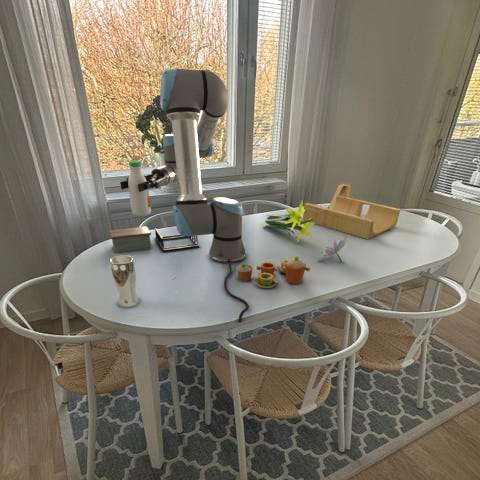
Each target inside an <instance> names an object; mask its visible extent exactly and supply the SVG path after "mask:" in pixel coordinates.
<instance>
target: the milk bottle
mask: <svg viewBox="0 0 480 480" xmlns="http://www.w3.org/2000/svg"><path fill="white" fill-rule="evenodd" d="M128 166H129V169H130V171H129V176H128V178H129V180H128V188H127V189H128V194H129V195H128V196H129V201H130V202H129V203H130V209H131V213H132V215H134V216H147V215H150V214H151V213H152V209H151V208H152V207H151V200H150V199H151V198H150V192H149V189H147V190H144V191H141V192H139V190H138V184H140V183H143V182H146V179H145V177H144V175H145V174H144V172H143V170H142V162H141V161H140V160H130V161H129V162H128Z"/></svg>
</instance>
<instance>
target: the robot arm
mask: <svg viewBox="0 0 480 480" xmlns="http://www.w3.org/2000/svg"><path fill="white" fill-rule="evenodd" d="M159 87H160V91H159V100H160V101H159V102H160V109H161V110H162V111H165V113H166V114H165V115H166V118H167V119H168V120H169V121H170V122H171V127H172V133H166V134H163V136H162V147H163V155H164V165H162V166H159V167H156V168H154V169H152V170H151V172H150V173H148V174H143V175H144V177H145V179H146V182H143V183H140V184H138V190H139V192H141V191H144V190H147V189H148V190H149V189H159V188H161V187H165V186H167V187H168V185H170V184H171V183H175V182H177V185H178V194H179V195H178V196H177V198H176V199H175V204H174V205H172V207H171V208H172V217H173V220H174V222H175V227H176V230H177V232H178V234H180V235H182V236H191V237H192V236H193V237H194V236H195V237H196V235H197V236H205V235H206V236H207V235H213V237H212V242H211V245H210V248H209V251H208V255H209V259H210V260H212V261H214V262H217V263H220V264H221V263H222V264H228V268H229V272H228V273H227V275H226V276H225V278H224V281H223V289H224V291H225V293H226V294H227V295H228V296H229V297H231V298H232V299H235V300H237V301H239V302H241V303H243V304H244V305H245V308H243V309H242V310H241V312H240V313H239V316H238V320H237V321H238V323H242V319H243V316H244V314H245V313H246V312H248V310H249V308H250V306H249V304H248V302H247V301H246V300H245V299H243V298H241V297H239V296H237V295H234V294H233V293H232V292H230V291H229V289H228V285H227V284H228V283H227V282H228V279H229V278H230V277H231V275H232V272H233V268H232V264H236V263H240V262H242V261H243V260H245V259H246V256H247V255H246V253H247V252H246V248H245V244H244V242H243V216H244V213H243V205H242V202H240V201H239V200H237V199H233V198H231V197H220V196H219V197H214V198H212V200H211V202H208V199H207V197H206V196H205V195H204V193H203V184H202V183H203V182H202V171H201V159H200V158H203V159H205V158H210V157H212V156H213V154H214V143H213V137H214V135H215V133H216V130H217V128H218V125H219V122H220V119H221V118H222V117H223V116H224V115H225V114H226V112H227V110H228V106H229V92H228V89H227V86H226V84H225V82H224V81H223V79H222V78H221V77H220V76H219V75H218V74H216V72H213V71H211V70H209V69H189V68H177V67H175V68H166V69H164V70H163V71H162V73H161V77H160V86H159ZM125 179H126V180H123V181H120V189H121V190H125V189H129V188H128V180H129V177H126V178H125ZM239 394H240V395H241V392H239Z"/></svg>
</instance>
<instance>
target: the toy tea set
mask: <svg viewBox="0 0 480 480" xmlns="http://www.w3.org/2000/svg"><path fill="white" fill-rule="evenodd" d="M253 270H254V267H253V266H251V265H249V264H246V262H241V264H240V265H237V267H236V271H237V277H238V278H237V279H238V280H239V281H241V282H249V281H250V280H251V279H252V275H253ZM256 270H257V271H260V273H259V274H258V276H254V278H253V280H254V282H256V285H257V286H258V287H259V288H261V289H272V288H274V287H275V286H276V285H277V284H279V280H277V279H275V278H274V274H275V272H277V271H279V272H280V273H282V274H285V280H286V282H287V283H289V284H292V285H298V284H301V283H302V282H303V279H304V276H305V273H306V272H309V271H311V267H309V266H307V264H306V262H304V261H303V260H302V259H300V258H299V256H297V255H295V256H294V258H290V259H284V260H281V261H280V264H275V263H274V262H268V261H267V262H262V263H261V264H260V265H257V266H256Z"/></svg>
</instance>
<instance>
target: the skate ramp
mask: <svg viewBox="0 0 480 480" xmlns="http://www.w3.org/2000/svg"><path fill="white" fill-rule="evenodd" d="M351 185H352V182H348V183H347V181H344V182H343V180H341V181H340V184H339V185H338V186H337V188H336V190H335V192H334V195H333V197H332V200H331V201H330V204H329V205H328V206H327V205H324V206H322V205H320V204H319V205H318V204H316V203H314V202H312V201H309V200H308V199H305V200H303V201H304V202H303V210H304V209H305V212H306V213H304V214H303V215H302V220H303V221H307V220H309V219H313V220H312V221H310V222H309V223H313V222H315V223H314V224H316V225H319V226H322V227H326V228H329V229H332V230H335V231H339V232H341V233H342V232H343V233H346V234H349V235H352V236H356V237H359V238H362V239H365V240H369V239H372V238H374V237H376V236H377V235H380V234H381V233H384V232H386V231H388V230H391V229H393V228H395V227H397V225H398V220H399V217H400V214H401V213H400V212H401V208H402V205H399V208H398V207H397V205H395V206H393V207H392V205H393V203H390V205H389V204H388V202H387V201H385V204H383V202H384V201H383V200H382V201H380V202H379V200H378V199H376V203H375V202H374V200H375V199H373V198H372V199H370V200H369V199H368V200H365V198H366V197H364V196H363V198H362V197H361V198H360V197H359V198H358V196H357V195H354V197H350V195H351V187H352V186H351ZM310 202H311V203H310ZM364 204H365V205H369V207H368V210H367V212H366V215H364V214H362V213H363V207H364ZM388 205H389V206H388ZM326 206H327V207H326Z"/></svg>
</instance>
